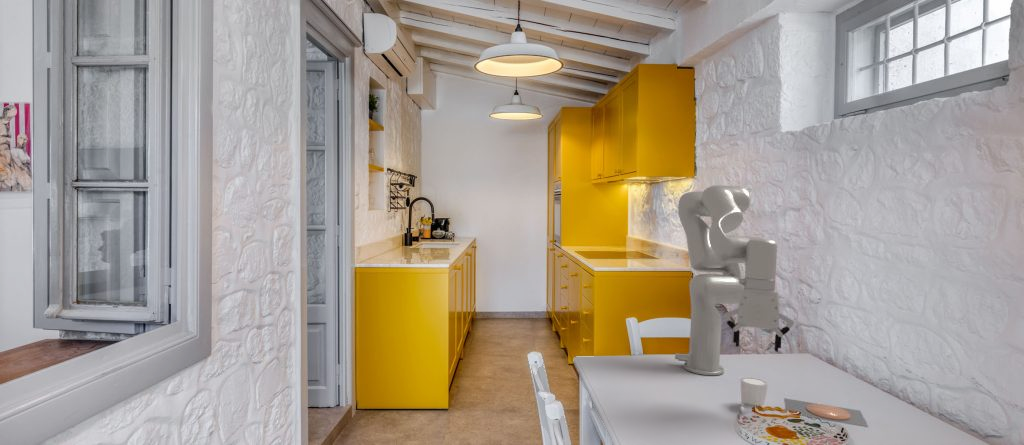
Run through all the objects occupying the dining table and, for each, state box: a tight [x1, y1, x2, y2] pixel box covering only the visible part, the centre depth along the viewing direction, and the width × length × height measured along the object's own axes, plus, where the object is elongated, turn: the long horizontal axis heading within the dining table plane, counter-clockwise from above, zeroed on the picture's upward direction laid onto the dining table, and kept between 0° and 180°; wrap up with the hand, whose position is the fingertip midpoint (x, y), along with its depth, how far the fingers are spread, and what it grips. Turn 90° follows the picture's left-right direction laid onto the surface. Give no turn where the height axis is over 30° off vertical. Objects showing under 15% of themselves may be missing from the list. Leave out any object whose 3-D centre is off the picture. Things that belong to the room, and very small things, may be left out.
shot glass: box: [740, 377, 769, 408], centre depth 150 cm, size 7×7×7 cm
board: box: [784, 398, 869, 428], centre depth 144 cm, size 18×12×2 cm, turn 66°
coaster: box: [807, 403, 851, 420], centre depth 143 cm, size 10×10×1 cm
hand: (756, 347), depth 149 cm, fingers open, 9 cm apart
